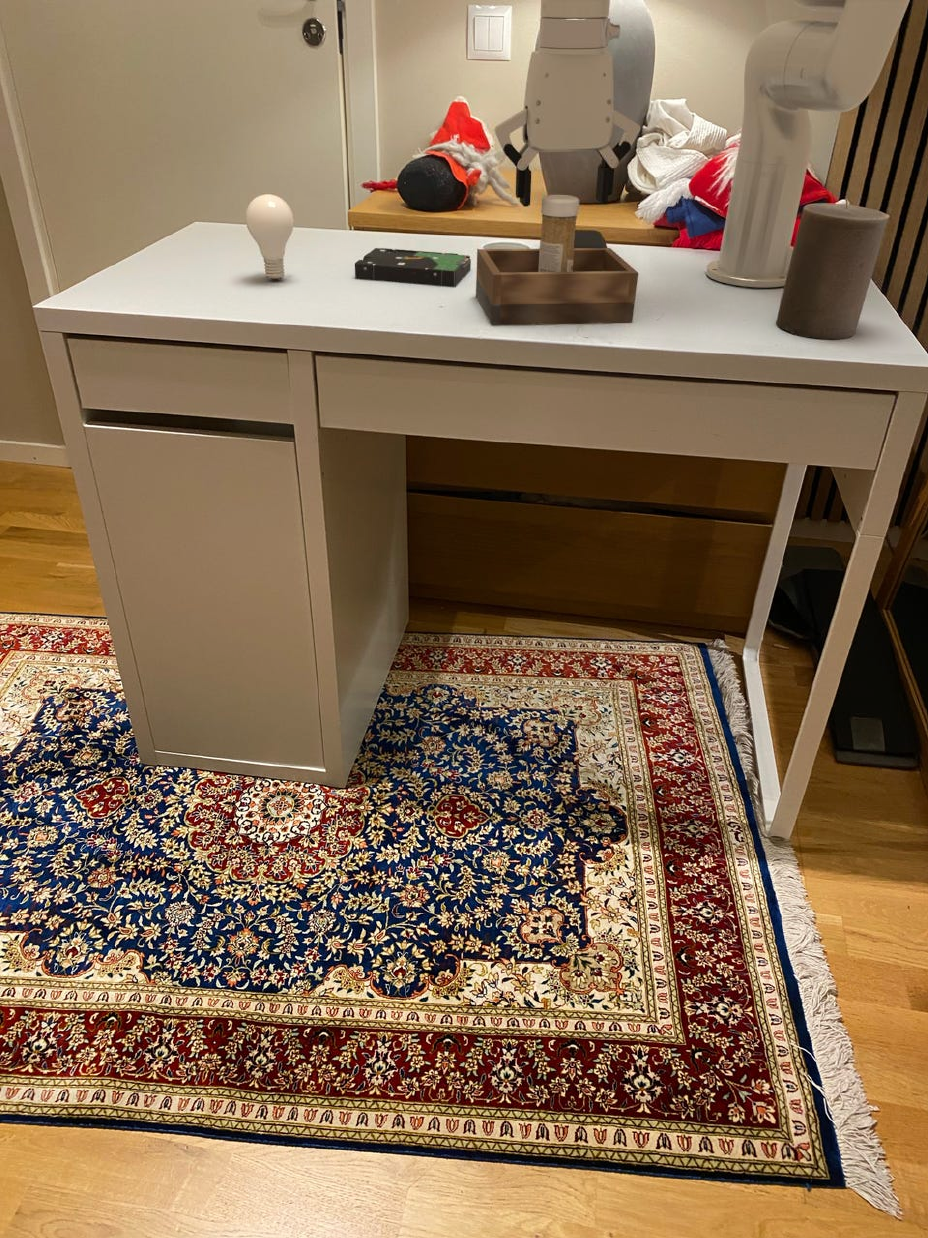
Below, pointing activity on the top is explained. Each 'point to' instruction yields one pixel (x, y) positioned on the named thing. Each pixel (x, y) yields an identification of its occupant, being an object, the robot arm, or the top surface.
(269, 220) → the lightbulb
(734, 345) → the top surface
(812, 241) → the pillar candle
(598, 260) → the wooden box
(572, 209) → the spice jar
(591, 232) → the carrying case or bag
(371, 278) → the disk drive
